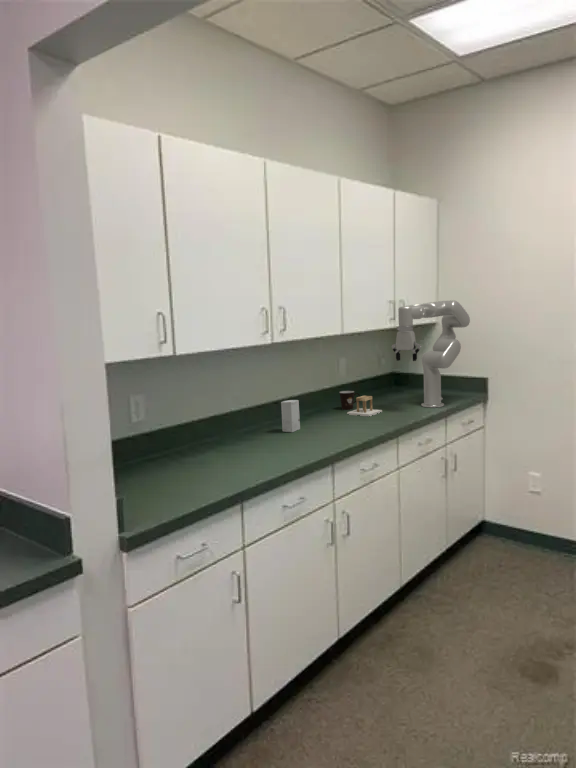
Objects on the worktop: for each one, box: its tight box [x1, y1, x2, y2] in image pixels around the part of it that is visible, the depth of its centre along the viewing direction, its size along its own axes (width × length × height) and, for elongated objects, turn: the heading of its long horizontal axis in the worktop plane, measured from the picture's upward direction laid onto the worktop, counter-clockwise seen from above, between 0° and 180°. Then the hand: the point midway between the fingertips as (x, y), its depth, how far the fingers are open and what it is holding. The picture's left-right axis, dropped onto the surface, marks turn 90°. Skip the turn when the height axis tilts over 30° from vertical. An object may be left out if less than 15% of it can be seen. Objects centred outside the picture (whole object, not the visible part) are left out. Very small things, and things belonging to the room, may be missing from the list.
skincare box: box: [280, 399, 301, 433], centre depth 288 cm, size 8×6×15 cm
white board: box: [346, 407, 383, 417], centre depth 325 cm, size 14×14×1 cm
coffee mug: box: [339, 390, 361, 411], centre depth 340 cm, size 12×9×10 cm
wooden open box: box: [355, 395, 373, 413], centre depth 324 cm, size 6×8×8 cm
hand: (406, 360), depth 321 cm, fingers open, 9 cm apart
